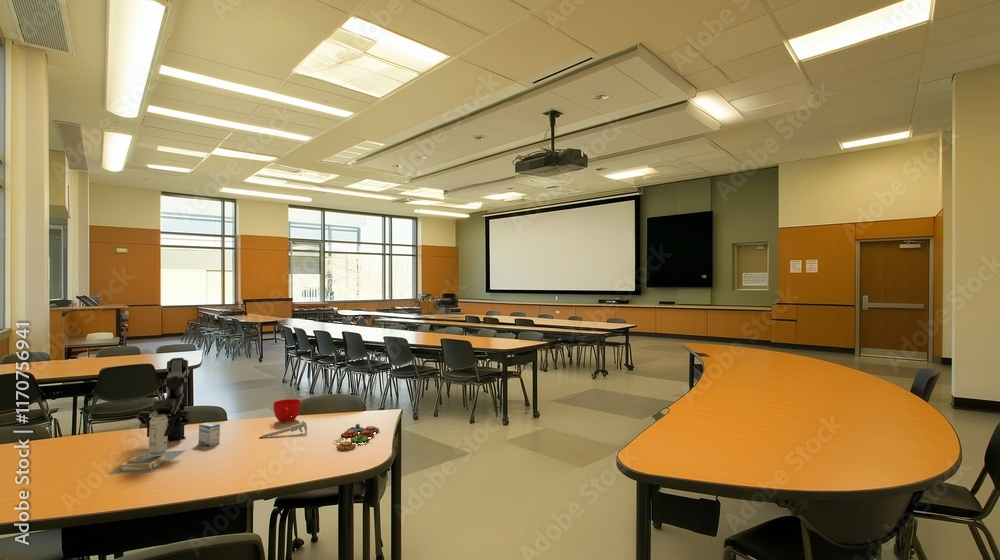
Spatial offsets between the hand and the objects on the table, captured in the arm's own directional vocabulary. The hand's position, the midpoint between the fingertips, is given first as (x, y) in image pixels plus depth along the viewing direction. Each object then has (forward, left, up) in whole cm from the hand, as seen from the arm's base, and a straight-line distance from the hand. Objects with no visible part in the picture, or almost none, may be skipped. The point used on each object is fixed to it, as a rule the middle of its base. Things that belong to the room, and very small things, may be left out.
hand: (156, 436), depth 186 cm
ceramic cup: (-60, -8, -9) cm, 61 cm away
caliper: (-46, +12, -9) cm, 49 cm away
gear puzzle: (-62, +45, -10) cm, 77 cm away
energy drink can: (-1, -1, -7) cm, 7 cm away
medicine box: (-21, -3, -9) cm, 23 cm away
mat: (+3, +3, -9) cm, 10 cm away
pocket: (+6, +6, -9) cm, 12 cm away
